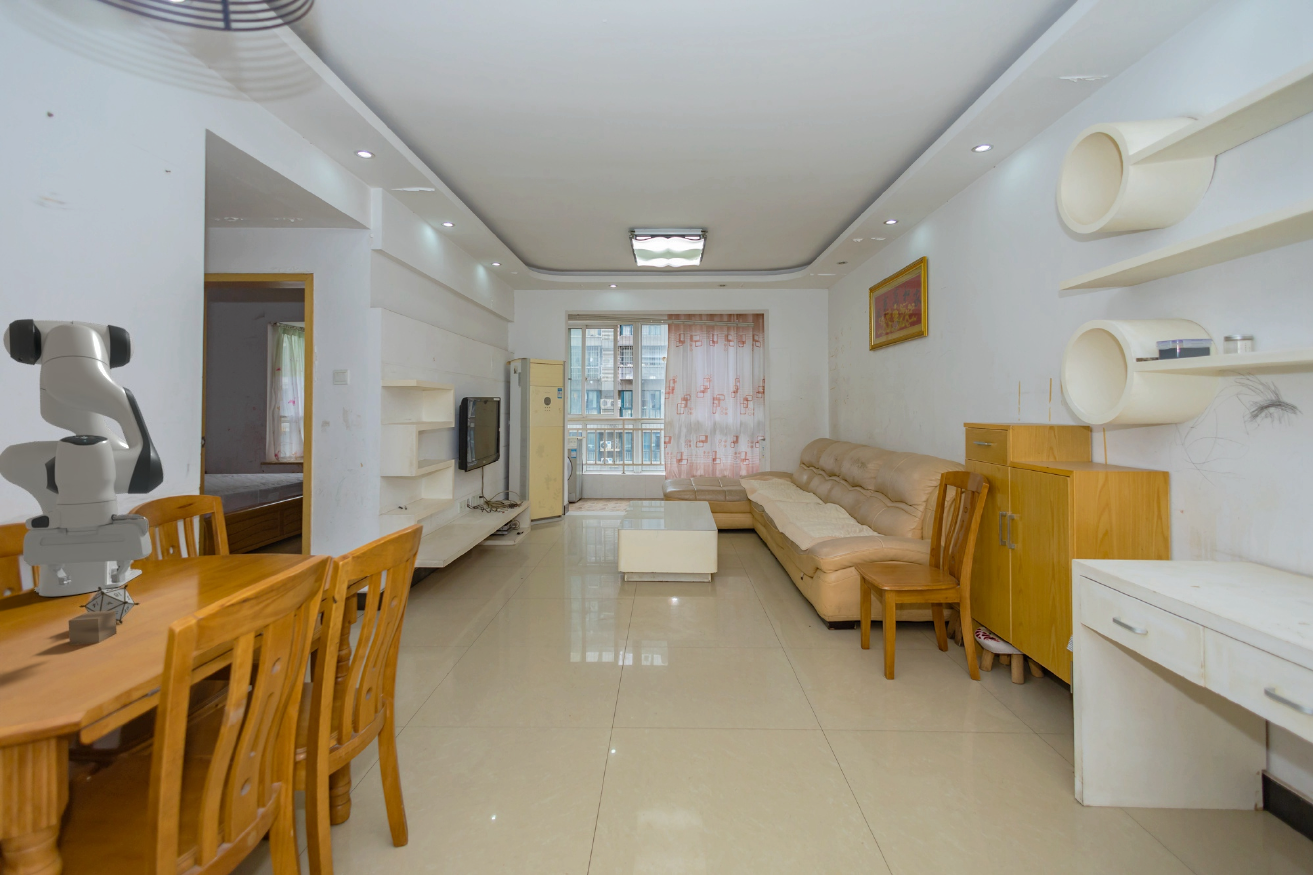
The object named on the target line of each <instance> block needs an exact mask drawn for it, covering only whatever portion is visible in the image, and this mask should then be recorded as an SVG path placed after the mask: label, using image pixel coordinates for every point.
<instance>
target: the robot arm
mask: <svg viewBox="0 0 1313 875" xmlns="http://www.w3.org/2000/svg"><path fill="white" fill-rule="evenodd" d="M2 341H3V346H4V348H5V350H6V352H7V353H8V354H9V355H10V358H11V359H12V360H14V361H15V362H17V363H21V364H24V365H30V366H35V365H40V374H39V406H40V407H39V408H40V410H39V411H40V416H41V418H42V419H43V420H44V421H45V422H46V423H48V424H50V425H52V426H55V427H56V428H60V429H63V430H67V431H69V432H71V433H73V434H74V435H70V436H65V437H63V438H60V439H59V440H39V441H37V440H36V441H27V442H23V443H16V444H12V445H11V444H10V445H9V446H7V447H6V448H5V449H4V450H3V451H2V452H1V453H0V475H1V477H3V478H4V479H5V480H6V481H8V482H9V483H11V484H13V485H15V486H18V487H20V488H21V489H23V490H25V491H26V492H27V493H29V494H30V495H31V496H32V497H33V498H34V499H35V500H36V501H37V503H38V505H39V506H40V509H41V512H42V514H39V515H35V516H32V517H29V518H27V519H26V520H25V528H26V529H27V530H28V531H27V532H26V533H25V535H24V538H23V547H22V550H23V551H22V552H23V554H22V555H23V556H22V557H23V560H24V562H25V563H26V564H27V565H28V566H32V567H34V566H39V574H38V575H39V578H38V586H36V587H34V589H35V590H33V591H36V592H35V593H38V595H39V596H41V597H62V596H73V595H79V594H85V593H91V592H95V591H96V592H98V591H99V590H98V587H101V589H112V588H120V587H122V586H124V585H126V584H127V583H128V582H130V581H131V580H133V579H135V578H136V577H138V576H141V574H143V571H142V570H141V569H137V568H136V569H135V568H131V565H132V561H137V560H142V559H144V558H147V557H149V555H151V553H152V551H153V550H152V548H153V546H152V540H151V537H150V532H149V530H150V529H149V528H150V525H149V519H148V518H146V517H145V516H143V515H140V514H139V513H131V514H123V513H122V514H119V512H118V511H119V510H118V497H117V496H118V495H122V494H123V495H124V494H128V495H135V494H136V495H138V494H139V495H141V494H142V495H143V494H144V495H145V494H146V495H147V494H149V493H150V492H153V491H154V490H155V489H157V488H158V487H160V485H161V484H162V483H163V482H164V477H165V467H164V466H165V465H164V463H163V460H162V459H161V457H160V455H159V453H158V451H157V449H156V447H155V446H154V443H153V441H152V438H151V435H150V432H149V430H148V427H147V424H146V422H145V418H144V416H143V414H142V411H141V408H140V406H139V404H138V402H137V399H136V398H135V396H134V393H132V391H131V390H130V389H129V388H126V387H124V386H122V385H120V383H118V382H117V381H116V379H114V376H112V373H111V370H112V369H116V368H121V367H124V366H126V365H127V364H129V363H130V362H131V359H132V358H133V355H134V352H135V345H134V341H133V339H132V337H131V335H130V332H128V331H127V330H126V329H125V328H124V327H120V326H117V325H112V324H107V325H104V324H99V323H92V322H86V321H79V320H72V321H68V320H50V319H49V320H47V319H46V320H34V319H33V318H24V319H16V320H15V319H14V321H12V322H10V323H9V324H8V327H7V328H6V329H5V331H4V334H3V340H2ZM104 416H105V417H107V418H110V419H112V420H114V421H116V422H117V423H118V424H119V426H120V428H121V431H122V433H123V436H124V438H123V439H122V438H121V437H120V436H118V435H117V434H116V433H114V431H112V430H111V429H110V427H109V426H108V424H107V422H106V420H105V417H104Z"/></svg>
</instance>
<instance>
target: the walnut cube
mask: <svg viewBox="0 0 1313 875" xmlns="http://www.w3.org/2000/svg"><path fill="white" fill-rule="evenodd" d="M115 635H117V621H116V611H115V610H113V611H97V612H88V611H86V612H85V613H82V614H80V615H78V616H76V617H74V618H71V619H69V620H68V637H69V645H70V646H73V645H76V646H77V645H86V644H87V645H88V644H99V643H101V642H104V641H106V640H107V639H110V638H111V637H113V636H115Z"/></svg>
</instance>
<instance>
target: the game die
mask: <svg viewBox="0 0 1313 875" xmlns="http://www.w3.org/2000/svg"><path fill="white" fill-rule="evenodd" d="M128 587H129V584H127V583H126V584H124V587H114V588H107V589H101V587H98V590H97V592H96V594H95V595H93V597H92V598H91V599H90V600H89V601H88V602H87V603H86V604H81V605H79V606H78V607H79V608H85V610H86V612H97V611H113V610H115V611H116V622H118V623H119V624H122V625H123V620H122V619H124V617H125V616H127V614H128V613H129V612H130V611H131V609H132V608H133V607H135V606H138V605H140V602H134V599H133V597H132V596H131V595H130V593H129V592H128V589H127V588H128Z"/></svg>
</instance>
